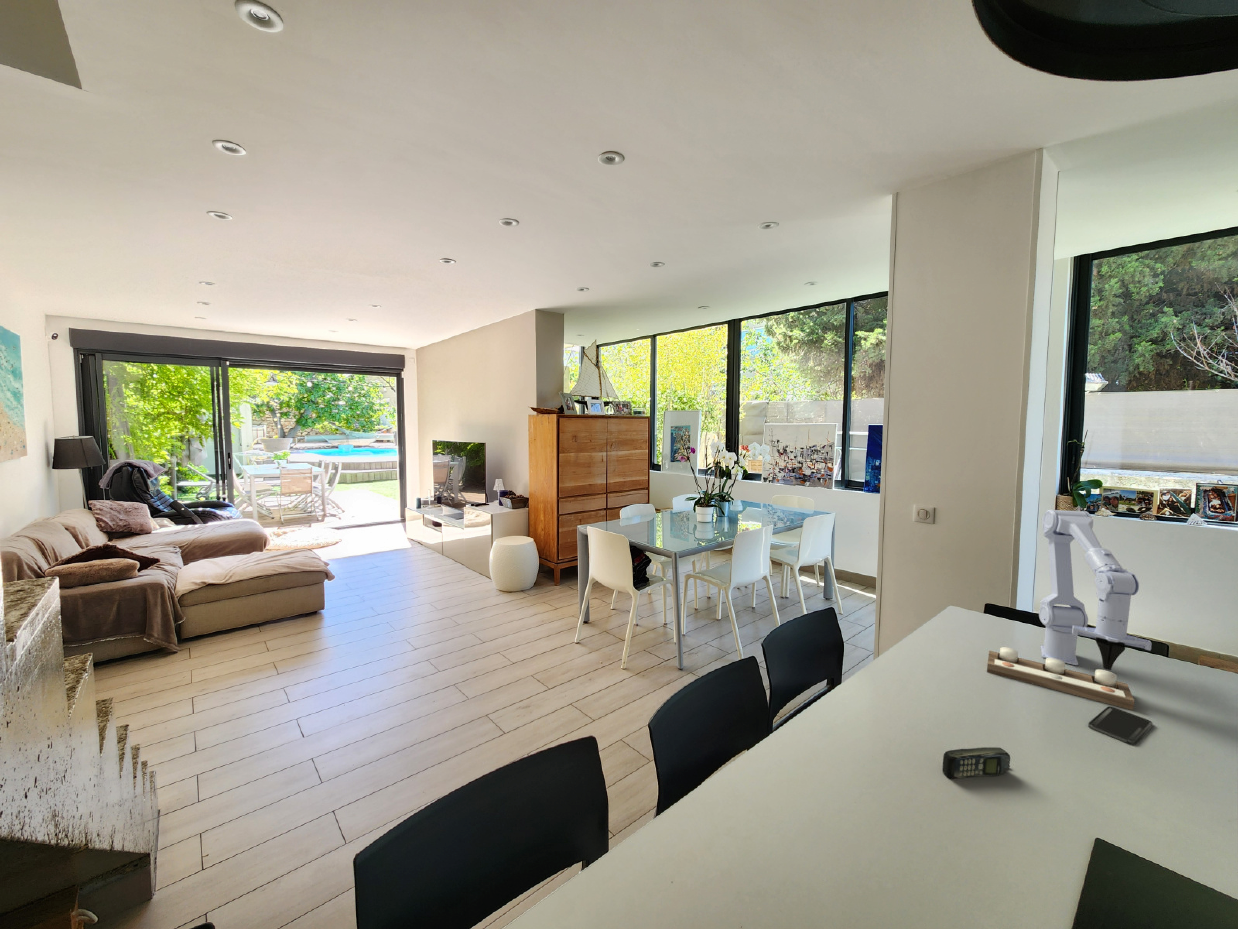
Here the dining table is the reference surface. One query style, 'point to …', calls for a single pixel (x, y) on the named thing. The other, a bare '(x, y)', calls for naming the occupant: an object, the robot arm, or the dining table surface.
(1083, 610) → the robot arm
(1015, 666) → the pattern card
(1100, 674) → the end button
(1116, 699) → the button board
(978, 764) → the mobile phone
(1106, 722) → the phone
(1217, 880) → the dining table surface
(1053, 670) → the middle button
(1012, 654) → the end button
